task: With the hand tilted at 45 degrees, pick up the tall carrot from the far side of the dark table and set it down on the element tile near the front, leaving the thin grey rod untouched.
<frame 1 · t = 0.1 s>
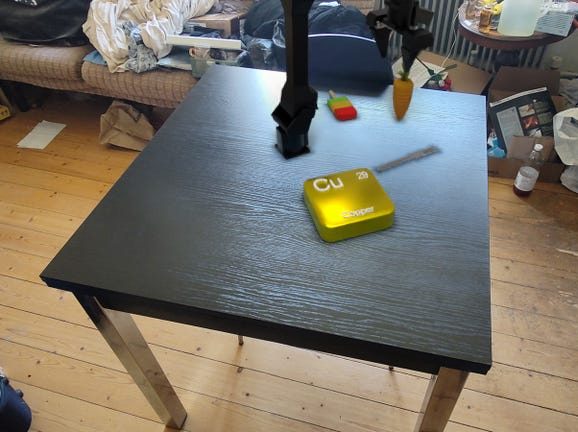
hand: (394, 64, 106), 15 cm above the table, tool pointing down, fingers open, 9 cm apart
thin grey rod: (406, 160, 102), on the table
element tile: (347, 211, 89), on the table
carrot: (399, 121, 115), on the table
popsicle: (338, 107, 120), on the table
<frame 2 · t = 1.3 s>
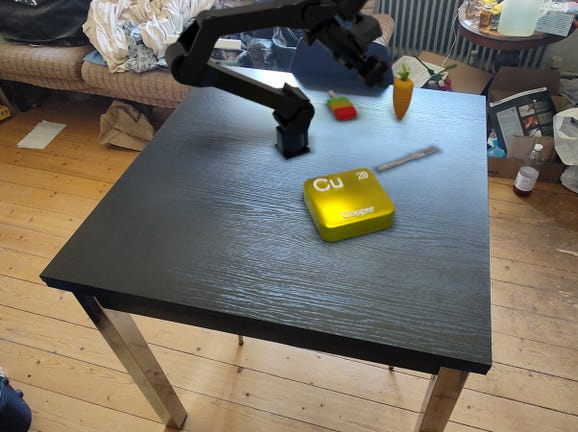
hand: (377, 78, 103), 13 cm above the table, tool tilted 45°, fingers open, 9 cm apart
nothing on the table moved.
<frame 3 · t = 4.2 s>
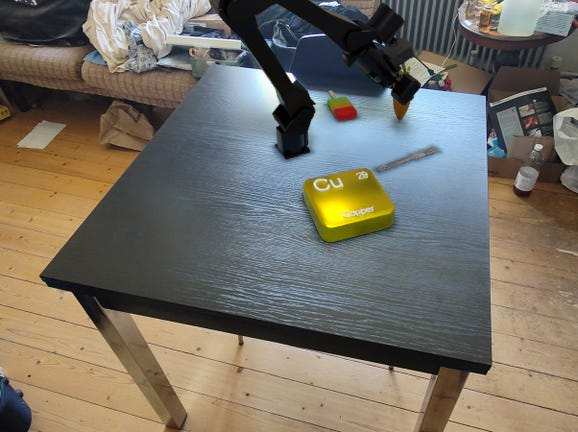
hand: (407, 94, 111), 7 cm above the table, tool tilted 45°, fingers closed on carrot, 5 cm apart
carrot: (399, 121, 115), on the table, touching gripper
everything else where it was.
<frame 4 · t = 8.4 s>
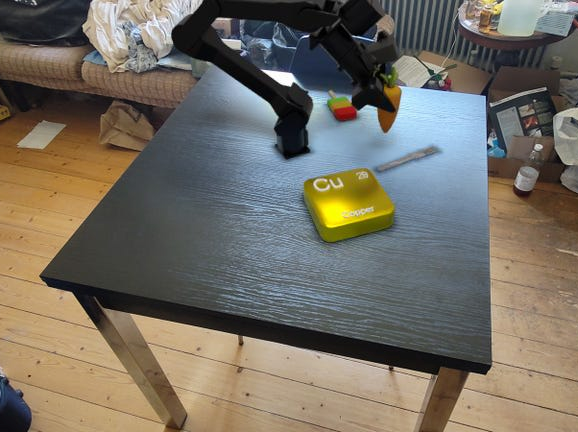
hand: (394, 105, 94), 13 cm above the table, tool tilted 45°, fingers closed on carrot, 5 cm apart
carrot: (385, 134, 99), point 6 cm above the table, touching gripper
everything else where it was.
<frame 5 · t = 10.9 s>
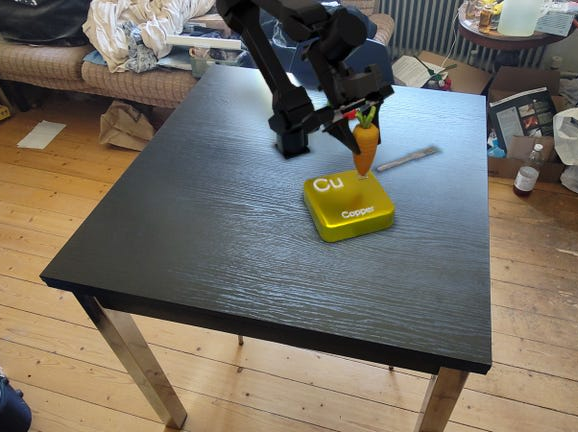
hand: (369, 149, 82), 13 cm above the table, tool tilted 45°, fingers closed on carrot, 5 cm apart
carrot: (362, 176, 88), point 6 cm above the table, touching gripper
everything else where it was.
when the fingers open (12 cm above the table, at t = 12.8 s): carrot stays where it is, resting on element tile.
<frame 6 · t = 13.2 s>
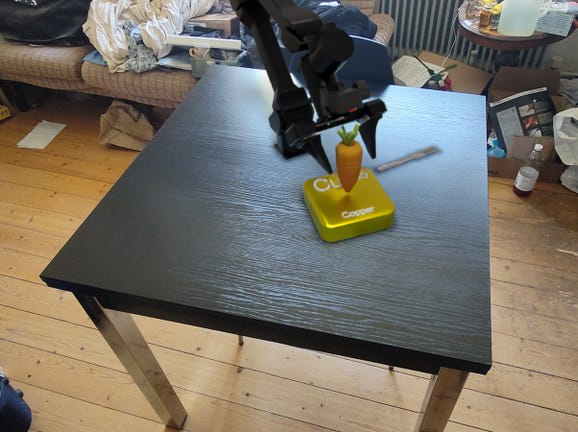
hand: (353, 166, 80), 12 cm above the table, tool tilted 45°, fingers open, 9 cm apart
element tile: (347, 211, 89), on the table, touching carrot
carrot: (347, 193, 86), point 5 cm above the table, touching element tile
everything else where it was.
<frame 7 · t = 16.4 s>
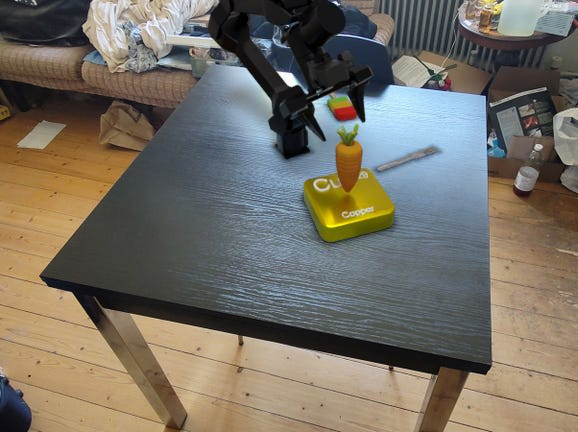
hand: (344, 131, 87), 13 cm above the table, tool tilted 40°, fingers open, 9 cm apart
nothing on the table moved.
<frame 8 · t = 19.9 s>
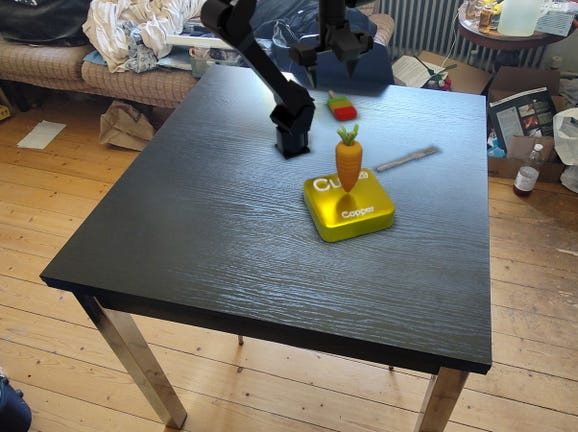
hand: (332, 83, 102), 13 cm above the table, tool pointing down, fingers open, 9 cm apart
nothing on the table moved.
at the end: carrot 0.1 cm from the element tile (horizontally); the gripper is holding nothing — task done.
